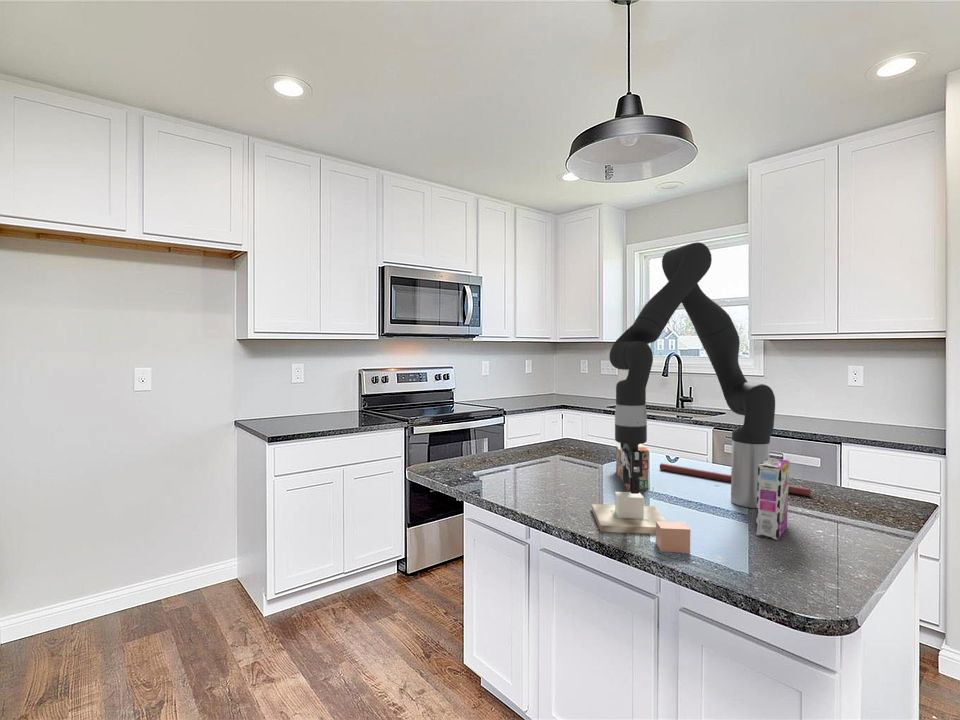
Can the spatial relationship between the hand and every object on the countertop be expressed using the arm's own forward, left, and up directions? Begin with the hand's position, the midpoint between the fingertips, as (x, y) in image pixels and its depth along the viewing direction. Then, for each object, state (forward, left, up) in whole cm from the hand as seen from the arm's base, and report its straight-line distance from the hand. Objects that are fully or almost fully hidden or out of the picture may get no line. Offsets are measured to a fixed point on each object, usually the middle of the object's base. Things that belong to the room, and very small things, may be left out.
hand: (630, 488), depth 127 cm
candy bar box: (-32, +4, -9) cm, 33 cm away
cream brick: (0, 0, -7) cm, 7 cm away
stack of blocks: (-8, -40, -9) cm, 42 cm away
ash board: (0, 0, -8) cm, 8 cm away
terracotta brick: (-6, +16, -8) cm, 19 cm away
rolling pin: (-39, -41, -9) cm, 57 cm away
